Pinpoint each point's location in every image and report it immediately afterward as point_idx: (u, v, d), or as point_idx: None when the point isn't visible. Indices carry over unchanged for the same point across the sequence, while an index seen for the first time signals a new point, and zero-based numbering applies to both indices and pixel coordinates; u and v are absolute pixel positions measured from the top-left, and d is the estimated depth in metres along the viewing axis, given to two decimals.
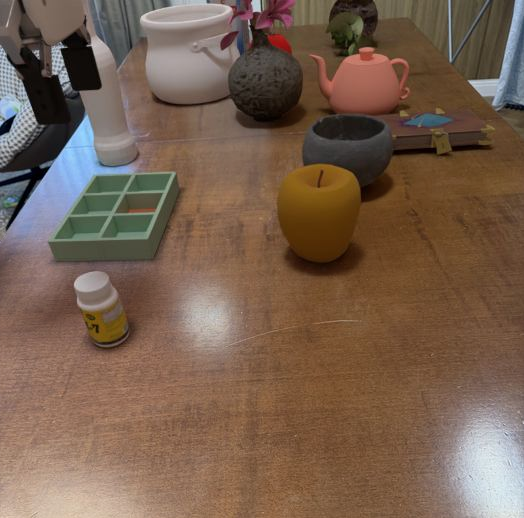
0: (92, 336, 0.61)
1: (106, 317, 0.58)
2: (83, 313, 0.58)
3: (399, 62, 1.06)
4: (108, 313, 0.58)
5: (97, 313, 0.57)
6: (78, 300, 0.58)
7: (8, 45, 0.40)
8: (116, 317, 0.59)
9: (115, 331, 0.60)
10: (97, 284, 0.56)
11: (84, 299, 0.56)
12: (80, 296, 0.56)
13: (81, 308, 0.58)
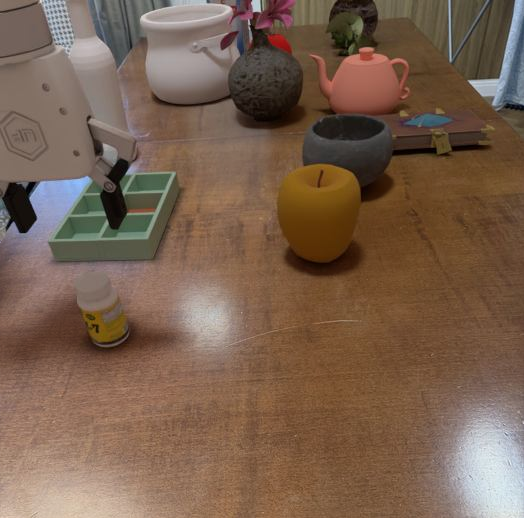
0: (92, 336, 0.61)
1: (106, 317, 0.58)
2: (83, 313, 0.58)
3: (399, 62, 1.06)
4: (108, 313, 0.58)
5: (97, 313, 0.57)
6: (78, 300, 0.58)
7: (133, 152, 0.46)
8: (116, 317, 0.59)
9: (115, 331, 0.60)
10: (97, 284, 0.56)
11: (84, 299, 0.56)
12: (80, 296, 0.56)
13: (81, 308, 0.58)
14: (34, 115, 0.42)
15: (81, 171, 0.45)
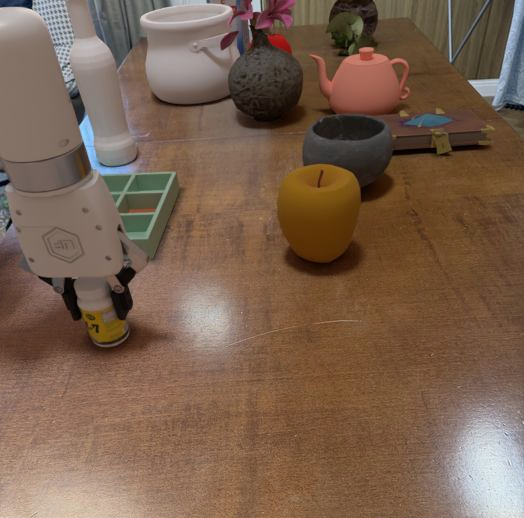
0: (92, 336, 0.61)
1: (106, 317, 0.58)
2: (83, 313, 0.58)
3: (399, 62, 1.06)
4: (108, 313, 0.58)
5: (97, 313, 0.57)
6: (78, 300, 0.58)
7: None
8: (116, 317, 0.59)
9: (115, 331, 0.60)
10: (97, 284, 0.56)
11: (84, 299, 0.56)
12: (80, 296, 0.56)
13: (81, 308, 0.58)
14: (74, 230, 0.49)
15: (111, 271, 0.53)
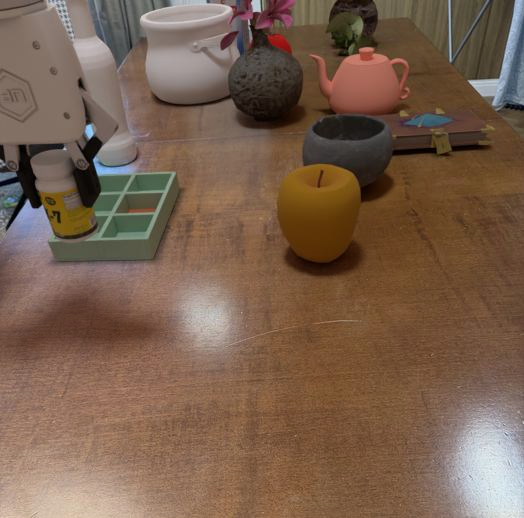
0: (54, 229, 0.53)
1: (68, 202, 0.50)
2: (42, 197, 0.50)
3: (399, 62, 1.06)
4: (71, 197, 0.50)
5: (57, 195, 0.49)
6: (36, 181, 0.50)
7: None
8: (80, 204, 0.51)
9: (80, 222, 0.52)
10: (57, 160, 0.48)
11: (42, 177, 0.49)
12: (37, 173, 0.48)
13: (39, 190, 0.50)
14: (24, 74, 0.41)
15: (71, 134, 0.45)
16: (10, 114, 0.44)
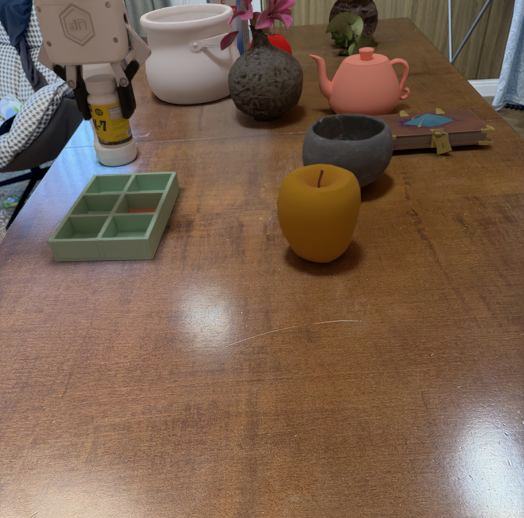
0: (100, 137, 0.69)
1: (112, 113, 0.66)
2: (92, 109, 0.66)
3: (399, 62, 1.06)
4: (114, 109, 0.66)
5: (104, 107, 0.66)
6: (88, 97, 0.66)
7: (145, 60, 0.63)
8: (121, 116, 0.67)
9: (120, 131, 0.68)
10: (105, 79, 0.65)
11: (93, 92, 0.65)
12: (90, 89, 0.65)
13: (91, 103, 0.66)
14: (86, 7, 0.58)
15: (118, 55, 0.61)
16: (74, 39, 0.60)
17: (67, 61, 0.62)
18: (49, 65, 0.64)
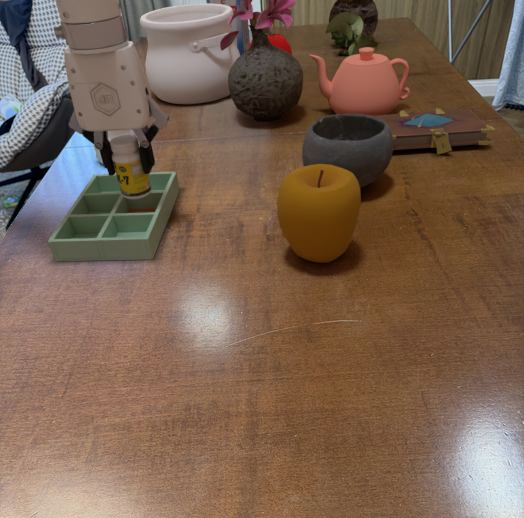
0: (123, 189, 0.77)
1: (134, 170, 0.75)
2: (117, 166, 0.75)
3: (399, 62, 1.06)
4: (136, 166, 0.75)
5: (127, 165, 0.74)
6: (113, 156, 0.75)
7: None
8: (141, 171, 0.76)
9: (141, 184, 0.77)
10: (128, 141, 0.73)
11: (118, 152, 0.73)
12: (115, 150, 0.73)
13: (115, 161, 0.74)
14: (114, 85, 0.66)
15: (141, 123, 0.69)
16: (102, 111, 0.69)
17: (96, 128, 0.70)
18: (79, 130, 0.73)
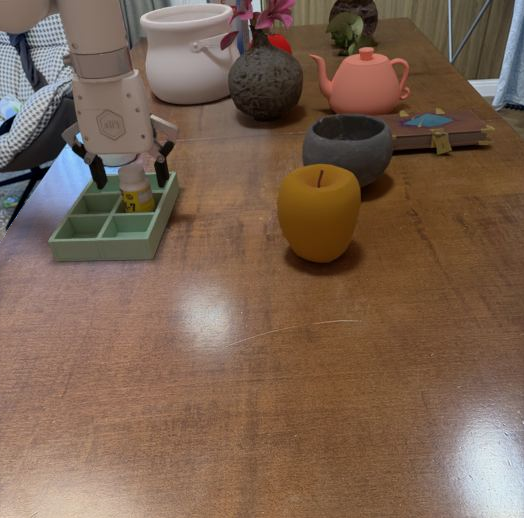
0: None
1: (141, 197, 0.78)
2: (124, 194, 0.78)
3: (399, 62, 1.06)
4: (142, 194, 0.78)
5: (134, 193, 0.77)
6: (120, 184, 0.78)
7: None
8: (148, 199, 0.79)
9: (147, 210, 0.80)
10: (135, 170, 0.76)
11: (125, 181, 0.76)
12: (122, 179, 0.76)
13: (123, 190, 0.77)
14: (120, 112, 0.69)
15: (145, 148, 0.72)
16: (108, 135, 0.71)
17: (101, 152, 0.73)
18: (70, 142, 0.74)
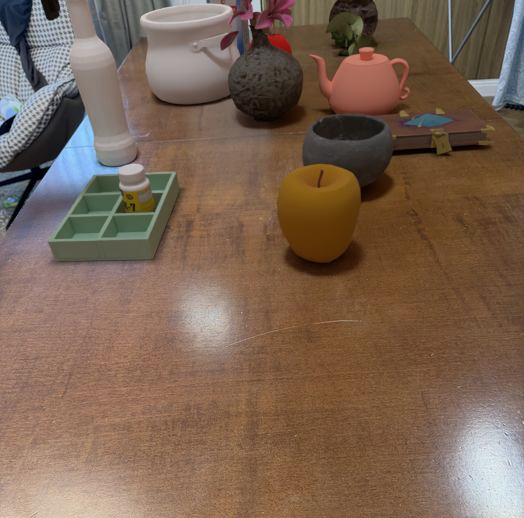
0: None
1: (141, 197, 0.78)
2: (124, 194, 0.78)
3: (399, 62, 1.06)
4: (142, 194, 0.78)
5: (134, 193, 0.77)
6: (120, 184, 0.78)
7: None
8: (148, 199, 0.79)
9: (147, 210, 0.80)
10: (135, 170, 0.76)
11: (125, 181, 0.76)
12: (122, 179, 0.76)
13: (123, 190, 0.77)
14: None
15: None
16: None
17: None
18: None
